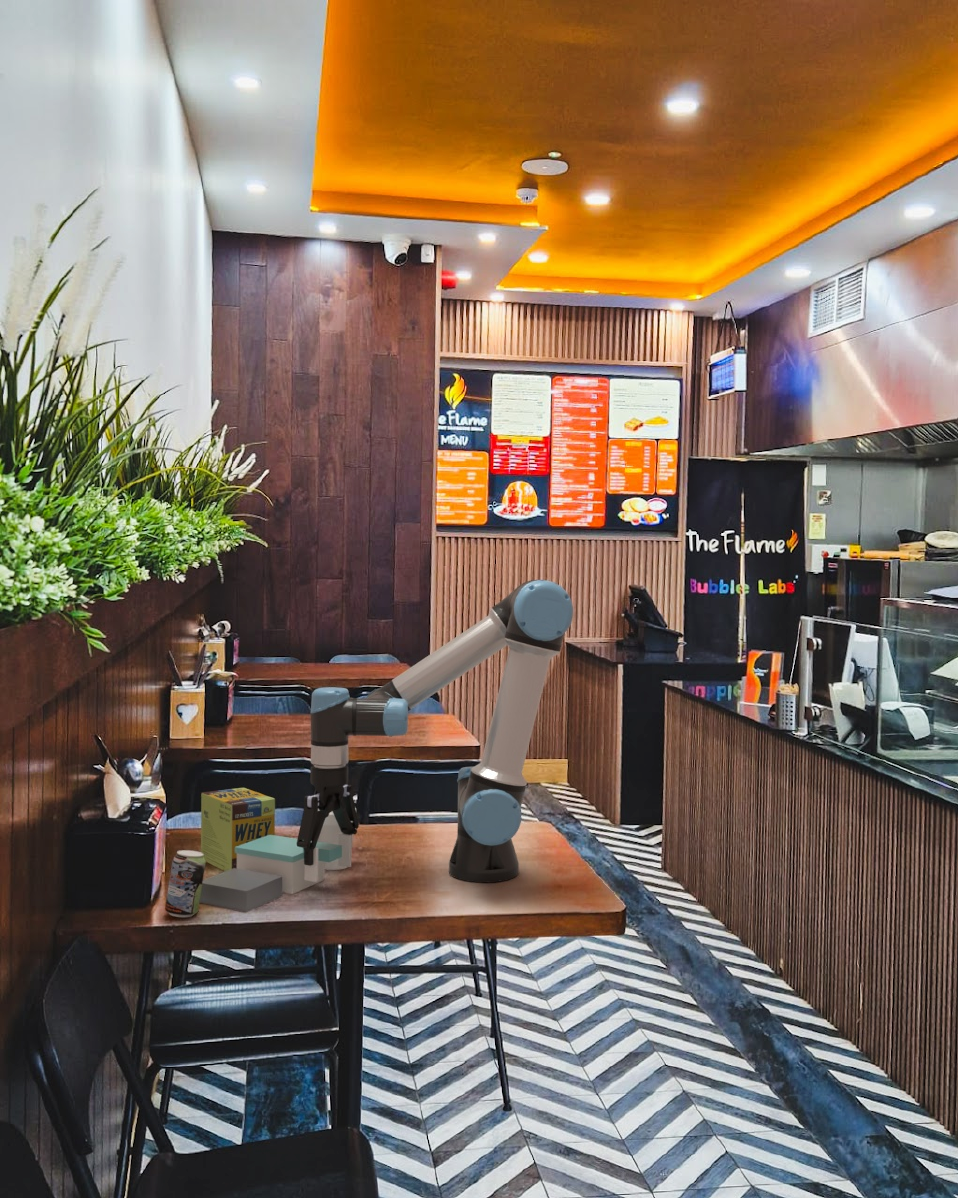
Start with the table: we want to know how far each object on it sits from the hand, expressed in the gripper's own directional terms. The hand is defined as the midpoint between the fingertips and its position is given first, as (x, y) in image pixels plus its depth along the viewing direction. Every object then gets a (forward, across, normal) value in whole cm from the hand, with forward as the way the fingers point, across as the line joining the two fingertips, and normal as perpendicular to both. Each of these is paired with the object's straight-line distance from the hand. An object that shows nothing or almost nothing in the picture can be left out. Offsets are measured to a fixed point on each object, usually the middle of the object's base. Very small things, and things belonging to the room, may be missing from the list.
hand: (328, 873), depth 213 cm
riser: (+4, +13, -12) cm, 18 cm away
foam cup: (+4, -15, -9) cm, 18 cm away
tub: (+4, 0, -12) cm, 12 cm away
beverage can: (+4, +24, -16) cm, 29 cm away
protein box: (+4, -7, -29) cm, 30 cm away
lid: (-2, 0, -9) cm, 9 cm away
